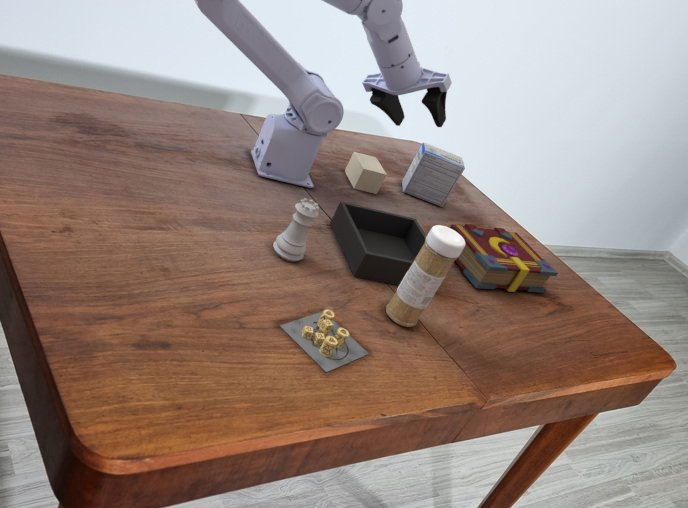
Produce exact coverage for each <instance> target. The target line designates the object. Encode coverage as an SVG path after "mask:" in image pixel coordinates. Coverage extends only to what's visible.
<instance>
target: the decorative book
mask: <svg viewBox="0 0 688 508" xmlns="http://www.w3.org/2000/svg"><path fill="white" fill-rule="evenodd" d="M449 228H451V229H453V230H454V231H456V232H457V233H459V234H460V235H461V236H462V237H463V239H464V240H465V247H464V249H463V250H462V252H461V254H460V255H459V257H457V259H456V260H454V262H455V263H456V264H457V265H458V266H459V268H460V269H461V270H462V273H463V274H464V276H465V277H466V279H468V280H469V282H470V283H471V284H472V285H473V287H474V288H476V289H482V290H483V289H485V290H495V289H505V290H506V291H507V292H509V293H510V292H513V293H515V292H516V291H517V290H521V291H527V292H529V293H530V292H531V293H539V294H541V293H542V294H544V293H545V292H546V291H547V288H546V287H545V286H544V285H545V284H546V283H547V282H548V280H549V278H550V277H557V276H558V274H559V272H558V271H557V270H556V268H555V267H554V266H553V265H551V264H550V262H548V261H547V259H545V258H543V257H541V255H539V253H537V251H535V250H534V249H533V247H531V246H530V244H529V243H528V242H527V241H525V240H524V238H522V237H521V235H520V234H519V233H518V232H514V231H507V230H506V229H505V228H502V227H494V228H493V229H491V228H482V227H478V226H477V225H476V224H471V223H465V224H464V225H459V224H451V225H450V227H449Z"/></svg>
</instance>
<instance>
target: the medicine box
mask: <svg viewBox="0 0 688 508" xmlns="http://www.w3.org/2000/svg"><path fill="white" fill-rule="evenodd" d="M465 169H466V167H465V163H464V160H463V158H462V156H459V155H456V154H454V153H452V152H449V151H447V150H445V149H442V148H439V147H437V146H435V145H432V144H429V143H427V142H422V143H421V145H420V147H419V149H418V151H417V152H416V154H415V156H414V158H413V160H412V161H411V164H410V166H409V167H408V169H407V171H406V173H405V175H404V177H403V179H402V182H401V185H402V187H401V188H402V193H404V194H407V195H410V196H412V197H415V198H417V199H420V200H423V201H426V202H428V203H430V204H433V205H436V206H438V207H441V208H443V207H444V206H445V204H446V202H447V200H448V198H449V196H450V195H451V194H452V192H453V189H454V188H455V187H456V185H457V183H458V181H459V179H460V178H461V176H462V174H463V172H464V171H465Z"/></svg>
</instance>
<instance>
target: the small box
mask: <svg viewBox="0 0 688 508" xmlns="http://www.w3.org/2000/svg"><path fill="white" fill-rule="evenodd" d="M344 173H345V175H346V177H347V179H348V181H349V182H350V184H351V186H352V188H353V189H354V190H357V191H362V192H365V193H366V192H367V193H369V194H374V195H378V194H379V193H378V192H379V191H380V189H381V187H382V185H383V183H384V181H385V179H386V177H387V175H388V174H387V172H386V171H385V169H384V168H383V166H382V165H381V162H380V161H379V160H378V158H377V157H376V156H373V155H369V154H366V153H365V154H364V153H361V152H357V151H353V153H352V155H351V157H350V159H349V161H348V163H347V165H346V167H345V169H344Z"/></svg>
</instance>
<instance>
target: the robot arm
mask: <svg viewBox="0 0 688 508" xmlns="http://www.w3.org/2000/svg"><path fill="white" fill-rule="evenodd" d="M193 1H194V3H195V5H196V6H197V8H198V9H199V11H200V12H201V13H202V15H204V17H206V18H207V19H208V20H209V21H210V23H212V24H213V25H214V27H216V28H217V29H218V30H219V31H220V32H221V33H222V34H223V35H224V36H225V37H226V39H228V41H230V42H231V43H232V44H233V45H234V46H235V47H236V48H237V49H238V50H239V51H240V52H241V53H242V54H243V56H245V57H246V58H247V59H248V60H249V61H250V62H251V63H252V64H253V65H254V66H255V67H256V68H257V69H258V70H259V71H260V72H261V73H262V74H263V75H264V76H265V77H266V78H267V79H268V80H269V81H270V82H271V83H272V84H273V85H274V86H275V87H276V88H277V89H278V90H279V91H280V92H281V93H282V94H283V95H284V96H285V98H286V99H287V101H288V102H289V103H288V106H287V108H286V109H285V112H284V113H281V114H276V113H269V114H268V115H267V116H266V118H265V119H264V121H263V123H262V126H261V129H260V131H259V135H258V136H257V139H256V142H255V144H254V147H253V149H251V150H250V154H251V157H252V160H253V163H254V166H255V169H256V172H257V174H258V176H259V177H262V178H267V179H270V180H275V181H279V182H283V183H286V184H287V183H288V184H292V185H296V186H300V187H304V188H309V189H313V188H314V187H315V185H314V184H313V181H312V179H311V176H310V172H311V170H312V167H313V165H314V163H315V160H316V159H317V157H318V154H319V151H320V149H321V147H322V145H323V143H324V140H325V138H326V137H327V135H328V134H329V133H331V132H332V131H335V129H337V128H338V127H339V126H340V124H341V122H342V120H343V118H344V113H345V112H344V111H345V110H344V106H343V103H342V101H341V100H340V99H339V98H338V97H337V96H335V94H334V93H333V92H332V91H331V89H330V87H328V85H327V84H326V82H325V80H324V78H323V77H322V76H321V75H320V74H319V73H317V72H315V71H311V70H308V69H306V68H305V67H304V66H303V65H302V64H301V63H300V62H298V61H297V60H296V59H295V58H294V57H293V56H292V55H291V54H290V52H288V51H287V50H286V49H285V47H284V46H283V45H282V44H281V43H280V42H279V41H278V40H277V39H276V38H275V37H274V36H273V35H272V34H271V32H270V31H268V29H267V28H266V27H265V26H264V25H263V24H262V23H261V22H260V21H259V20H258V19H257V17H255V15H253V13H251V11H249V9H247V7H246V6H245V5H244V4H243V3H242V2H241V1H240V0H193ZM321 1H322V2H323V3H326V4H328V5H330V6H332V7H334V8H335V9H338V10H340V11H341V12H343V13H345V14H346V15H347V14H348V15H351V16H357V17H358V19H360V20H361V26H362V28H363V30H364V32H365V34H366V39H367V42H368V44H369V47H370V49H371V52H372V54H373V56H374V60H375V61H376V64H377V66H378V69H379V71H380V72H378V73H373V74H367V75H366V76H365V78H364V79H363V81H362V82H361V83H362V86H363V89H364V91H365V93H371V96H370V98H369V102H370V104H371V105H373V106H375V107H377V108H378V109H380V110H381V111H382V112H383V113H384V114H386V116H387V117H388V118H389V120H391V121H392V123H393V124H394V125H395V126H397V127H400V126H401V124H402V123H403V122H404V119H405V118H406V117H405V112H404V109H403V107H402V104H401V101H400V98H399V96H404V95H407V94H412V93H416V92H420V91H424V90H426V93H424V95H423V98H421V104H423V106H425V108H426V109H427V110H428V111H429V113H430V115H431V116H432V120H433V122H434V124H435V126H436V127H437V128H442V127H443V126H444V123H445V122H446V120H447V116H446V115H447V113H446V104H447V103H446V101H447V95H448V91H449V89H450V88H451V85H452V79H451V77H450V73H448V72H447V73H444V72H439V71H435V70H432V69H428V68H425V67H423V66H422V67H421V64H420V61H418V58H417V55H416V52H415V50H414V46H413V43H412V41H411V38H410V36H409V33H408V30H407V28H406V25H405V22H404V20H403V18H402V13H403V7H404V5H403V0H321Z"/></svg>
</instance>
